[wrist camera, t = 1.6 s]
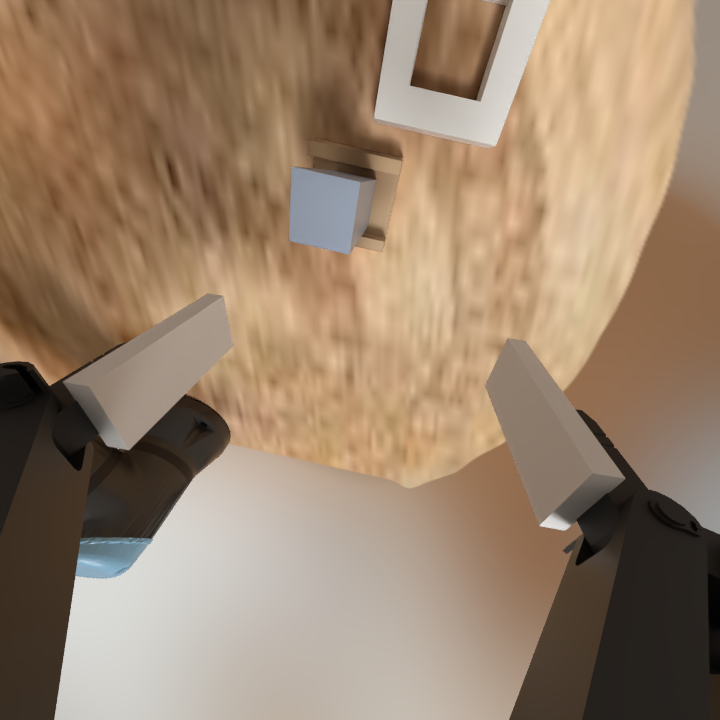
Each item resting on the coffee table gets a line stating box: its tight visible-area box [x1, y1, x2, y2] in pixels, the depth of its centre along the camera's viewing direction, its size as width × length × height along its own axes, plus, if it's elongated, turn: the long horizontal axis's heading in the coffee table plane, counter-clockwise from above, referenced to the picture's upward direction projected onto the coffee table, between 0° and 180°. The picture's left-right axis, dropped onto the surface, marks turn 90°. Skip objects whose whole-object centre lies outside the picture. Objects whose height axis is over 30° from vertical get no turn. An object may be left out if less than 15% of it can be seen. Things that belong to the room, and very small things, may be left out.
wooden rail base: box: [308, 138, 403, 252], centre depth 26 cm, size 8×8×3 cm
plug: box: [289, 166, 376, 254], centre depth 21 cm, size 4×4×12 cm
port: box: [374, 0, 550, 148], centre depth 20 cm, size 10×10×3 cm
